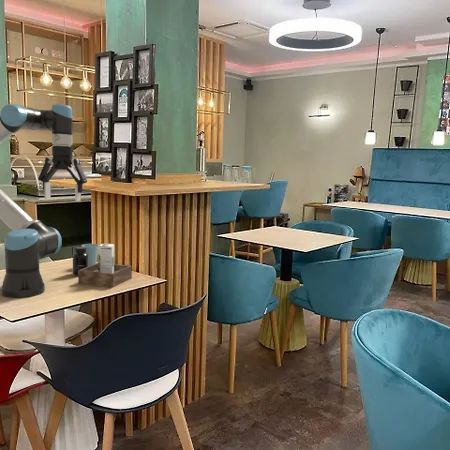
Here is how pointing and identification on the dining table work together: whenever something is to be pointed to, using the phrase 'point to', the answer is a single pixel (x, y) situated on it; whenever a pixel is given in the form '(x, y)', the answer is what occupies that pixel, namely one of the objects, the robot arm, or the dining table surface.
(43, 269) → the dining table surface
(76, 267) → the supplement bottle
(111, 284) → the socket crate
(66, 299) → the dining table surface
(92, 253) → the cup
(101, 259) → the syrup box
